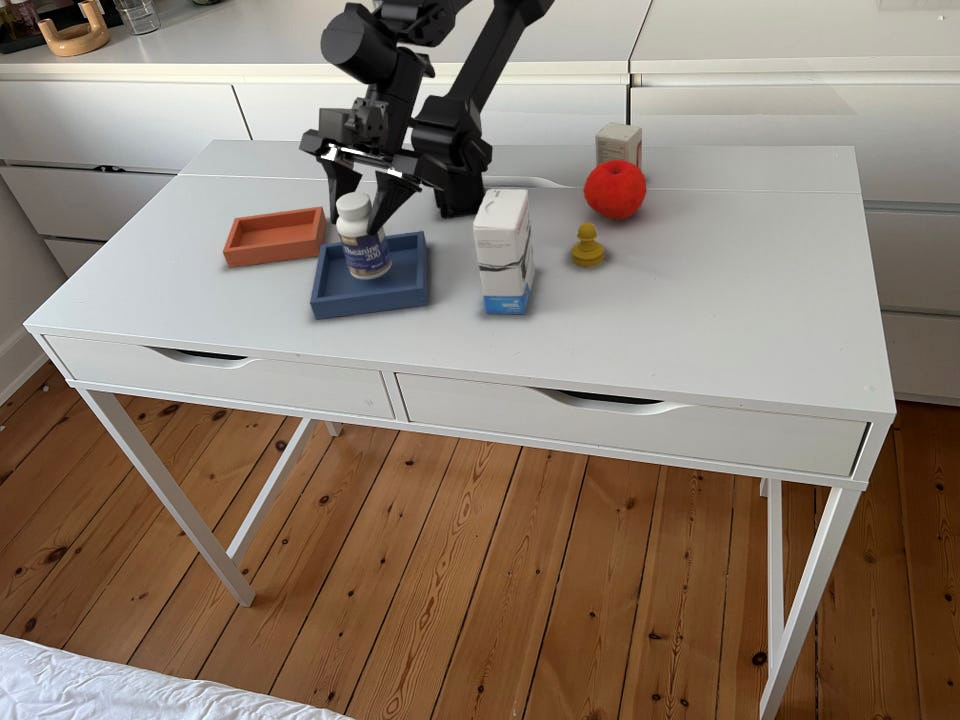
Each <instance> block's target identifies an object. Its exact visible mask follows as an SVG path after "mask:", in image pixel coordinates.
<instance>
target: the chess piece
mask: <svg viewBox="0 0 960 720" xmlns="http://www.w3.org/2000/svg"><path fill="white" fill-rule="evenodd" d="M596 228H597V227H596V226H595V224H593V223H592V222H589V221H588V222H583V223H581V224H580V225H579V227H578V229H577V234H576V239H578V240H580V241H579V242H577V243H575V244H574V245H573V246H572V247H571V260H572V263H573V264H574V265H576V266H578V267H580V268H594V267H597V266H599V265H601V264H602V263H603V262H604V260H605V252H604V251H605V248H604V245H603V244H602V243H601V242H599V241H596V239H597V237H598V233H597V229H596Z"/></svg>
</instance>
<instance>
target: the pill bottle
mask: <svg viewBox="0 0 960 720" xmlns="http://www.w3.org/2000/svg"><path fill="white" fill-rule="evenodd" d="M336 206H337V210H338V214H339V218H338V220H337V223H336V225H335V226H336V231H337V234H338V236H339V240H340V242H341V244H342V247H343V250H344V254H345V257H346V260H347V264H348V267H349V270H350V272H351V274H352V275H353V276H354V277H356V278H358V279H363V280H369V279H374V278H378V277H380V276H382V275H384V274H385V273H386V272H387V271H388V270H389V269H390V267H391V264H392V261H391V256H390V252H389V247H388V244H387V240H386V236H387V235H386V232H385V229H384V225H383V226H382V227H381V228H380V229H379V231H378V232H377V233H376V234H375V235H374V236H372V235H369V234H367V226H368V220H369V217H370V213H371V210H372V206H373V202H372V200H371V197H370V196H369V194H367V193H366V192H363V191H355V192H352V193H348V194H346V195H343V196H342V197H340V198H339V199H338V201H337V202H336Z"/></svg>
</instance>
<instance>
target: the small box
mask: <svg viewBox="0 0 960 720" xmlns="http://www.w3.org/2000/svg"><path fill="white" fill-rule="evenodd" d="M594 138H595V159H596V164H595V165H596V167H597V166H598V165H599V164H602V163H605V162H608V161H612V160H623V161H627V162H630V163H633V164H634V165H636V166H637V167H638V168H640V170H641V171H642V172H643V127H641V126H637V125H630V124H625V123H618V122H613V121H610V122H608V123H607V124H606V125H605V126H604V127H603V128H601V129H600V130H599V131H598V132H596V134H595V135H594Z"/></svg>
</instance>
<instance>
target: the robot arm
mask: <svg viewBox="0 0 960 720" xmlns="http://www.w3.org/2000/svg"><path fill="white" fill-rule="evenodd" d="M473 1H474V0H381V3H380V5H379V6H378V7H376V8H375V9H374V10H373V11H372V12H371V11H370V10H369V9H368V7H366V5H364V4H363V3H361V2H353V1H351V2H350V1H347V2H346V3H345V5H344V9H343V12H341V13H338V14H337V15H336V16H335V17H333V18H332V19H331V20H330V22H329V23H328V24H327V26H326V28H324V29H323V30H322V34H321V35H320V36H321V37H320V44H319V45H320V52H321V55H322V56H323V58H324V60H325V61H326V62H327V63H329V64H330V65H332V66H334V67H335V68H337V69H338V70H340V71H341V72H343V73H344V74H347V76H349V77H351V78H353V79H354V80H356V81H357V82H359V83H361V84H362V85H367V88H366V91H365V95H364V97H360V96H356V98H355V99H354V101H353V103H352V107H351V108H345V107H344V108H343V107H341V108H340V107H337V108H336V107H319V109H318V129H314V128H309V129H307V130H306V131H305V132H303V133H302V136H301V139H300V143H299V147H298V150H299V151H302V152H304V153H306V154H308V155H310V156H313V157H314V158H315V161H316V162H317V163H319V164H321V166H322V168H323V170H324V172H325V174H326V178H327V184H328V197H329V198H328V199H329V216H330V223H331V224H332V225H334V226H336V223H337V220H338V218H339V214H338V210H337V206H336V202H337V201H338V199H339V198H340V197H342V196H343V195H346V194H348V193H352V192H357V189H358V187H359V185H360V182H361V181H362V178H363V176H364V175H363V173H360V172H358V171H356V170H354V167H355V163H356V164H360V165H364V166H365V165H366V166H370V167H373V168H378V169H381V170H386V172H384V171H380V170H374V173H375V180H376V185H377V188H376V192H375V196H374V199H373V202H372V210H371V213H370V217H369V220H368V226H367V234H369V235H372V236H374V235H375V234H376V233H377V232H378V231H379V229H380V228H381V227H382V226H383V227H384V225H385V224H386V223H387V222H388V221H389V220H390V219H391V217H393V215H394V214H395V213H396V212H397V211H398V210H399V209H400V208H401V207H402V206H403V205H404V204H405V203H406V202H407V201H409V200H410V198H411V197H413V196H414V195H415V194H416V193H418V194H419V193H423V188H422V187H421V186H420V185H421V184H422V186H424V187H427V188H429V189H432V190H433V195H434V200H435V205H436V208H437V209H440V211H439V213H440V217H441V218H442V219H447V218H455V217H462V216H469V215H477V214H478V211H479V208H480V206H481V204H482V202H483V198H484V196H485V194H486V187H485V186H484V185H485V184H484V179H483V173H486V172H487V171H488V170H489V165H490V164H491V163H492V162H493V151H494V147H493V145H491V144H490V143H488V142H487V141H485V140H484V139H483V138H482V137H483V127H482V119H481V114H482V111H483V109H484V108H485V105H486V103H487V102H488V100H489V98H490V96H491V94H492V93H493V90H494V89H495V87H496V85H497V83H498V81H499V79H500V77H501V76H502V73H503V71H504V70H505V68H506V65H507V64H508V62H509V60H510V58H511V57H512V54H513V52H514V51H515V49H516V47H517V45H518V43H519V41H520V39H521V38H522V35H523V33H524V32H525V30H526V29H527V28H529V26H531V25H533V24H534V23H537V21H539V20H541V19H542V18H544V17H545V16H546V14H547V13H548V12H549V10H550V9H551V7H552V6H553V4H554V3H555V1H556V0H492V1H493V9H492V11H491V13H490V14H489V16H488V19H486V22H485V24H484V26H483V27H482V29H481V31H480V33H479V35H478V36H477V39H476V40H475V42H474V44H473V46H472V48H471V50H470V51H469V53H468V56H467V57H466V59H465V60H464V63H463V65H462V66H461V68H460V70H459V71H458V74H457V75H456V78H455V80H454V81H453V83H452V85H451V86H450V88H449V91H448V92H447V93H446V94H444V95H443V96H442V95H441V96H440V95H435V94H429V95H428V96H427V97H426V98H425V99H424V102H423V104H422V106H421V109H420V111H418V114H416V115H415V117H412V115H413V111H414V108H415V105H416V102H417V98H418V95H419V91H420V88H421V85H422V81H423V78H429V79H435V78H436V72H435V67H434V66H433V63H432V62H431V60H430V55H429V54H428V53H422V52H415V51H413V50H412V49H410V48H409V47H407V46H403V45H408V46H415V47H422V48H430V49H433V48H434V49H435V48H436V47H439V46H440V45H441V44H442V43H443V42H444V41H445V39H446V38H447V37H448V36H449V35H450V34H451V32H452V31H453V30H454V29H455V27H456V22H457V21H456V20H457V15H458V14H459V13H460V12H461V10H463V9H464V8H465V7H467V6H468V5H470V3H472V2H473ZM401 45H402V46H401ZM408 128H409V129H411V133H410V144H411V146H412V148H413V150H412V149H407V148H403V146H404V142H405V138H406V135H407V132H408Z"/></svg>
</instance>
